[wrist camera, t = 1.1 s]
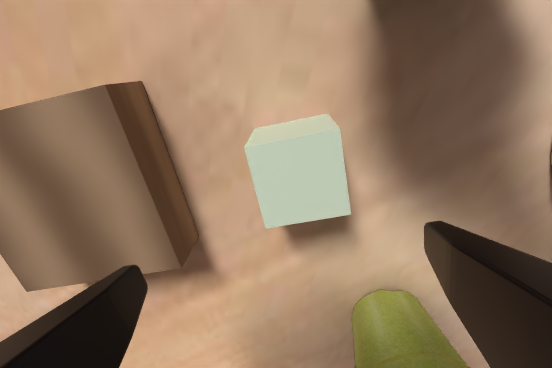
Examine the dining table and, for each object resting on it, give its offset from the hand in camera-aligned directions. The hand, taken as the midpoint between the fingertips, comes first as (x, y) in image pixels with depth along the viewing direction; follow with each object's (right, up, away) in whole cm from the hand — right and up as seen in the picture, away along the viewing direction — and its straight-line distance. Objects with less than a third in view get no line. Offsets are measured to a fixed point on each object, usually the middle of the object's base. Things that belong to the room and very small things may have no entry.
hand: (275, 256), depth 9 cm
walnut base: (-13, +2, +13) cm, 19 cm away
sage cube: (+2, +4, +11) cm, 12 cm away
